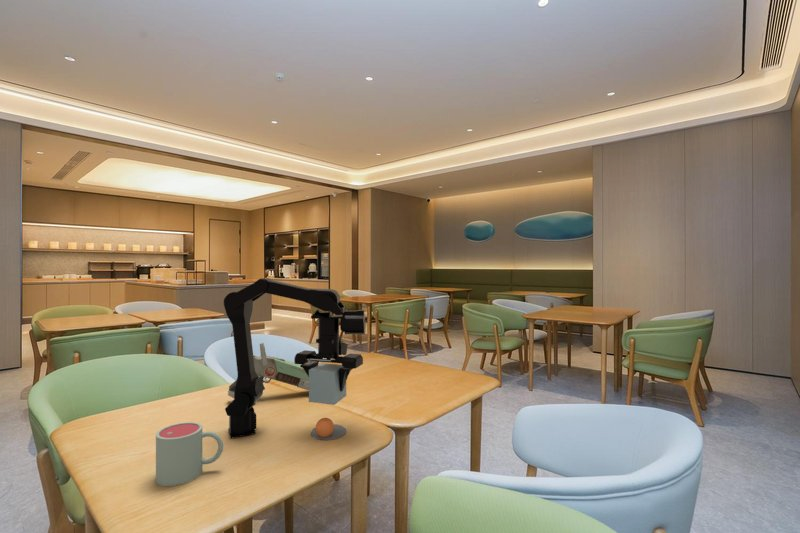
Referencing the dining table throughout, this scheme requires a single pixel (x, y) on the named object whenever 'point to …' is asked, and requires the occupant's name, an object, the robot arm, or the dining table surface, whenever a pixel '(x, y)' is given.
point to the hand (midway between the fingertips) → (328, 389)
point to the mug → (182, 453)
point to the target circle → (336, 433)
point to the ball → (324, 427)
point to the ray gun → (277, 371)
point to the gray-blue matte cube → (325, 384)
